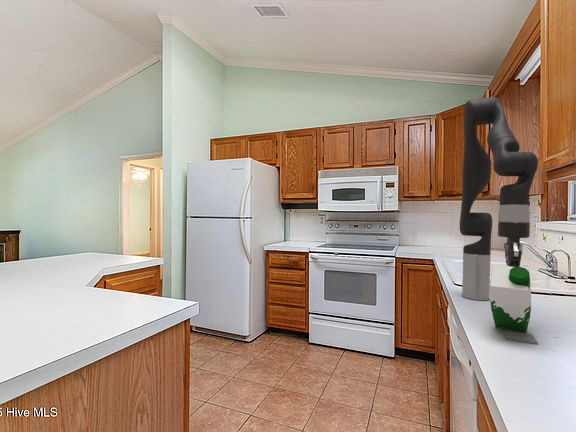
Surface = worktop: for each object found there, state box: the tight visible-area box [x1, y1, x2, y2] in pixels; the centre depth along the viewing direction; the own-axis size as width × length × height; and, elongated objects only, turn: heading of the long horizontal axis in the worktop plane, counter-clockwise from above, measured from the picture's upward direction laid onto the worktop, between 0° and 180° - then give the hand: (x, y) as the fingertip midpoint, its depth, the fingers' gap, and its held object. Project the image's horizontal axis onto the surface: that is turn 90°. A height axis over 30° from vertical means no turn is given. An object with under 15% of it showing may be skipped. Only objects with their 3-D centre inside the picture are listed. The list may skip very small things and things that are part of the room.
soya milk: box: [489, 265, 532, 334], centre depth 86 cm, size 9×9×20 cm
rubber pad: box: [503, 329, 539, 345], centre depth 84 cm, size 6×6×1 cm
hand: (512, 280), depth 92 cm, fingers closed
